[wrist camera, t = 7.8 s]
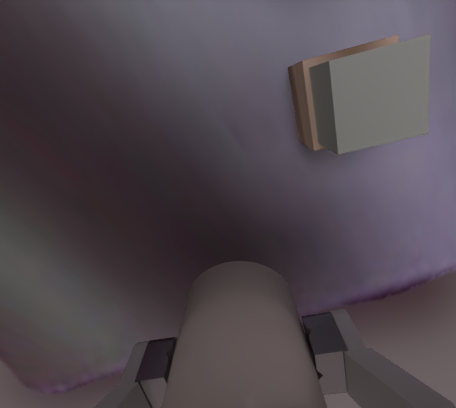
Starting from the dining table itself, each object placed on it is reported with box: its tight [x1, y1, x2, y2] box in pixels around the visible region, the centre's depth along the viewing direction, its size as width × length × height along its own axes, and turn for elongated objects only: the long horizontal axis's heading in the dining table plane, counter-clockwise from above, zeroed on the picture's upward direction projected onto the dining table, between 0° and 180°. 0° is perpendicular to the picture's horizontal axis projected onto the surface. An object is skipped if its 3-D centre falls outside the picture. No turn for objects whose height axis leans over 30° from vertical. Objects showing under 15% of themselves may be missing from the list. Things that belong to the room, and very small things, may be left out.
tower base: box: [288, 35, 399, 151], centre depth 21 cm, size 6×6×5 cm
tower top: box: [309, 34, 431, 155], centre depth 17 cm, size 5×5×4 cm
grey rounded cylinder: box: [162, 261, 327, 408], centre depth 9 cm, size 5×5×5 cm
